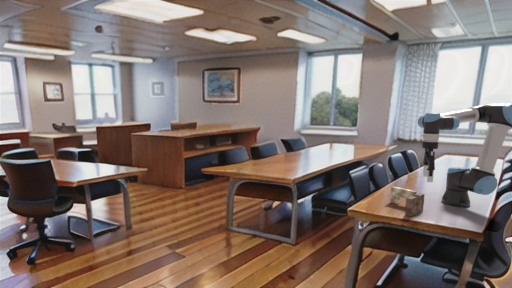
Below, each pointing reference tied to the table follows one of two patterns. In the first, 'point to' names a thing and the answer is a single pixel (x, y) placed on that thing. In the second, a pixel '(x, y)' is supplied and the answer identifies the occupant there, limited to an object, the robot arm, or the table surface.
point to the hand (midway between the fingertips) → (427, 179)
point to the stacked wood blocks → (400, 194)
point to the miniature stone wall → (414, 204)
